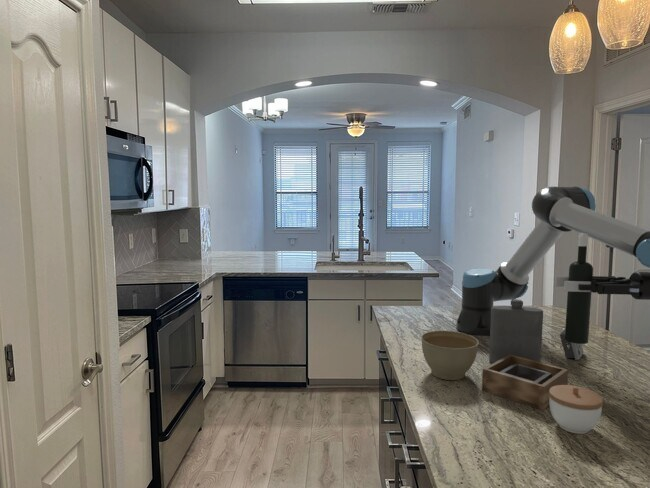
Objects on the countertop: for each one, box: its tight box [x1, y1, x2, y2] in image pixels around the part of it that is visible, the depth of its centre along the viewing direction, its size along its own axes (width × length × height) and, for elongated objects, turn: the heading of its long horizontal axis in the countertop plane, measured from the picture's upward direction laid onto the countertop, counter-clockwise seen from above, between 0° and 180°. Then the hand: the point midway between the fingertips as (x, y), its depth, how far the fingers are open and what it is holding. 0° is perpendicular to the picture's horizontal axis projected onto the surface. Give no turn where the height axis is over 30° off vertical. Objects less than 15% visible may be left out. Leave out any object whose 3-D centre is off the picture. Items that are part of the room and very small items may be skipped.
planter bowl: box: [420, 330, 479, 381], centre depth 133 cm, size 16×16×11 cm
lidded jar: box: [549, 384, 604, 435], centre depth 103 cm, size 11×11×9 cm
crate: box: [481, 355, 569, 411], centre depth 123 cm, size 16×16×6 cm
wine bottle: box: [564, 233, 594, 345], centre depth 126 cm, size 6×6×30 cm
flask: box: [488, 298, 544, 364], centre depth 142 cm, size 15×6×20 cm, turn 76°
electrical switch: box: [559, 329, 584, 361], centre depth 149 cm, size 9×5×9 cm, turn 141°
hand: (560, 283), depth 126 cm, fingers closed on wine bottle, 6 cm apart
